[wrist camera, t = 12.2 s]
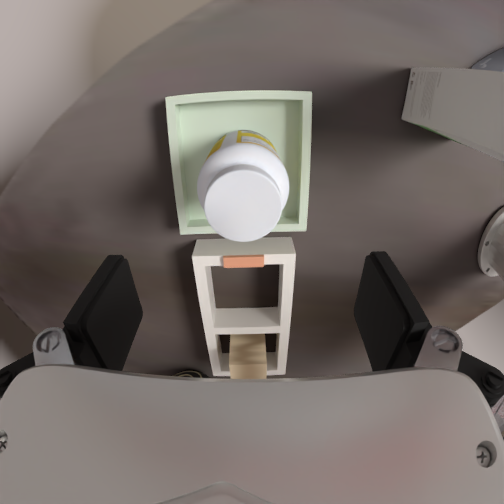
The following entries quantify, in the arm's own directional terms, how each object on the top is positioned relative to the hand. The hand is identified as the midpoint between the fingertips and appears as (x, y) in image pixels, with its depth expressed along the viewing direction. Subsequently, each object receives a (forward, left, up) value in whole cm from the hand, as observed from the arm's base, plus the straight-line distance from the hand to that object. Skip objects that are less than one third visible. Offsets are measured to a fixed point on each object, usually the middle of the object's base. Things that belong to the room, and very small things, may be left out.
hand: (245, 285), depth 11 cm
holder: (+1, +19, -20) cm, 27 cm away
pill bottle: (0, 0, -19) cm, 19 cm away
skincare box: (-20, -8, -20) cm, 30 cm away
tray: (+1, 0, -20) cm, 20 cm away
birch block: (+1, +24, -20) cm, 31 cm away
